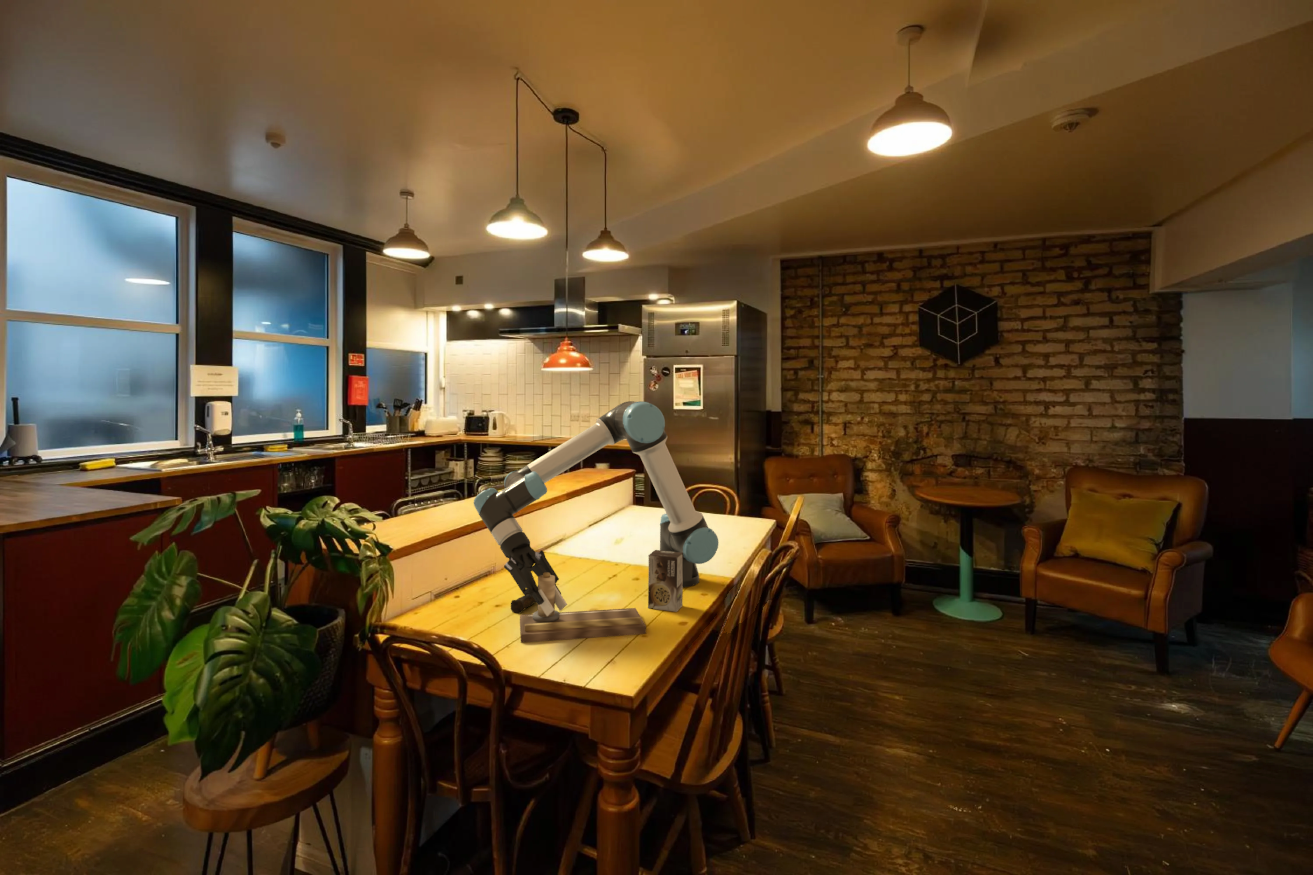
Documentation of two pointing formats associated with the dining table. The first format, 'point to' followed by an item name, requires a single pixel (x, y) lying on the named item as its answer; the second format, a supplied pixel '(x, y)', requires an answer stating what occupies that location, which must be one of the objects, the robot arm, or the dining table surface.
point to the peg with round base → (548, 587)
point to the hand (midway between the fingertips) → (557, 610)
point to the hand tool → (522, 603)
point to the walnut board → (583, 625)
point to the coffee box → (665, 580)
